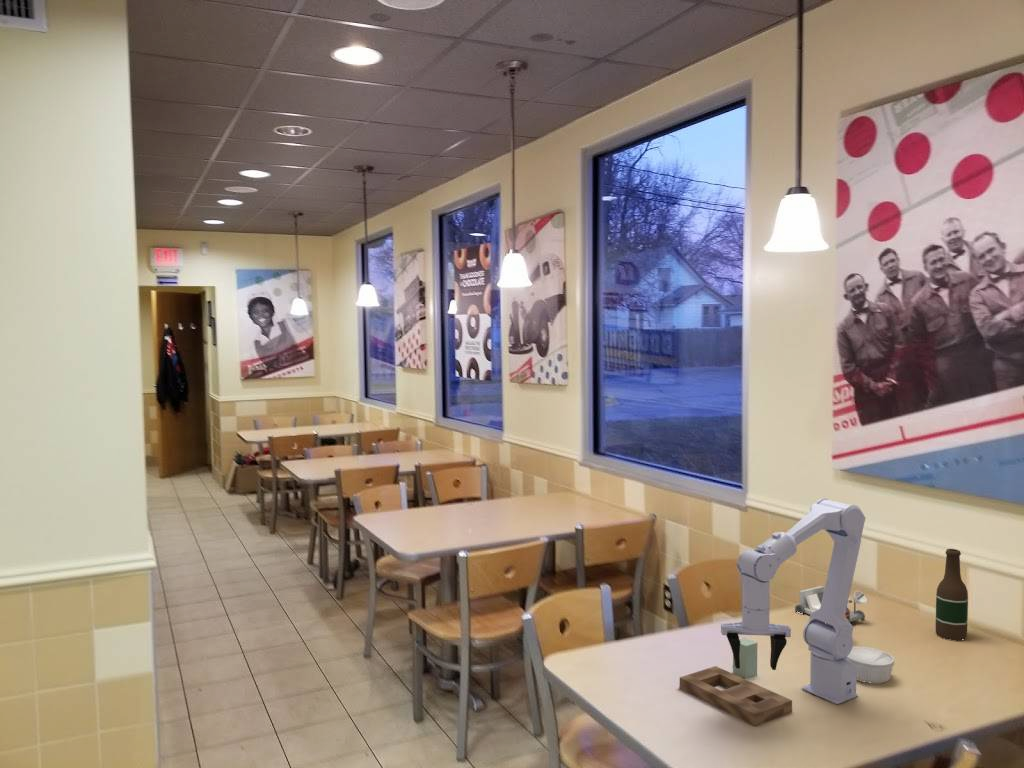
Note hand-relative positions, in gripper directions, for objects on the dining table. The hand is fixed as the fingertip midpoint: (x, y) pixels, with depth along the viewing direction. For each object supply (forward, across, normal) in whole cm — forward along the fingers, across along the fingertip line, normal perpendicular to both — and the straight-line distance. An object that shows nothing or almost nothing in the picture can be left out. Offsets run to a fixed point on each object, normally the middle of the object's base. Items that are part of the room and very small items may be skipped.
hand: (755, 667), depth 171 cm
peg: (+9, -2, -19) cm, 21 cm away
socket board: (+9, +4, -5) cm, 11 cm away
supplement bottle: (+10, -31, -43) cm, 54 cm away
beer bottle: (+10, -63, -50) cm, 81 cm away
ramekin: (+10, -31, -21) cm, 38 cm away
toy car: (+10, -35, -62) cm, 72 cm away
